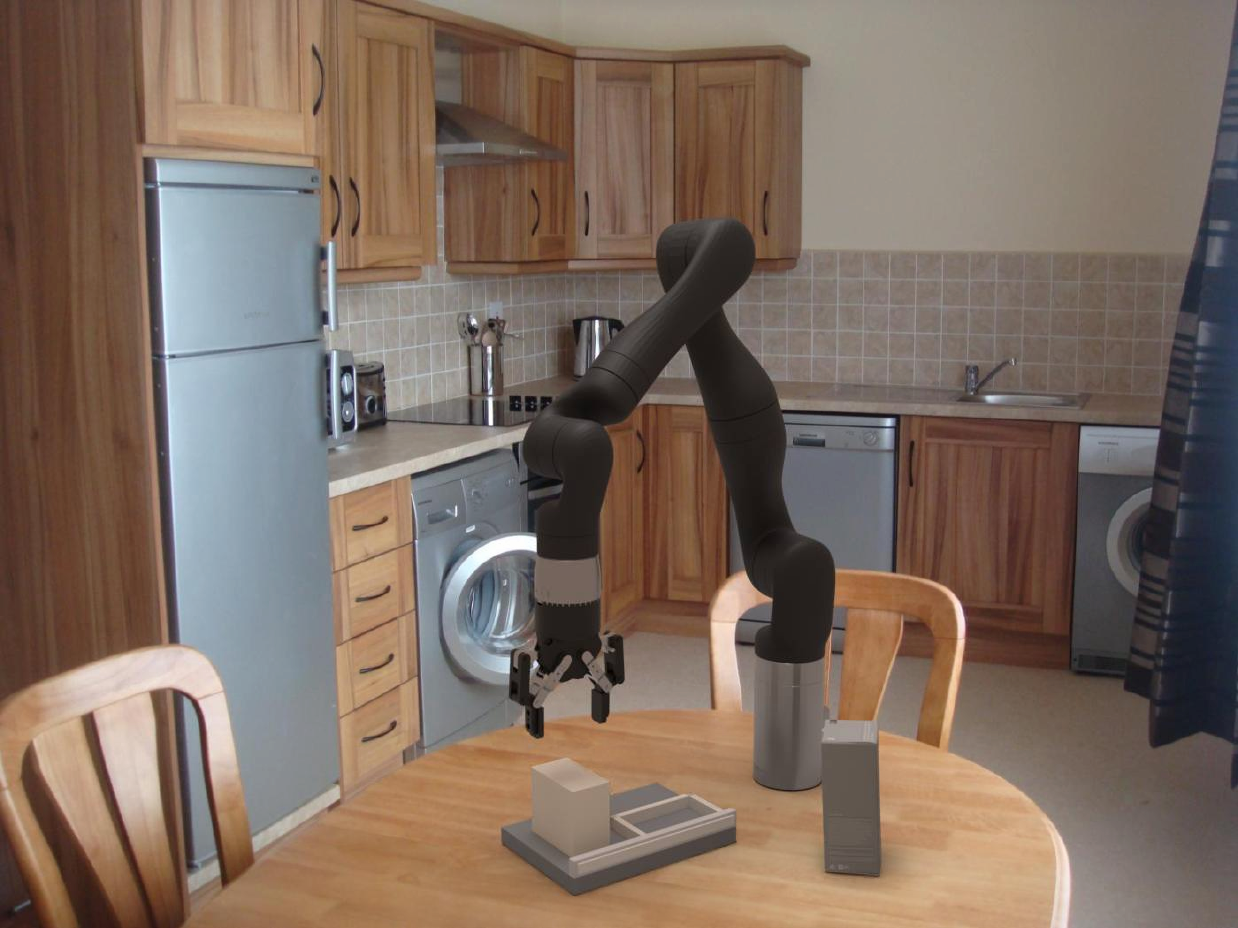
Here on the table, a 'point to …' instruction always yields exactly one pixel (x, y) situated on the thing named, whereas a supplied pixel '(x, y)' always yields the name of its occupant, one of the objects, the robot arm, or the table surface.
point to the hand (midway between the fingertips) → (567, 728)
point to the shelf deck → (631, 838)
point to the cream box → (570, 807)
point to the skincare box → (851, 796)
